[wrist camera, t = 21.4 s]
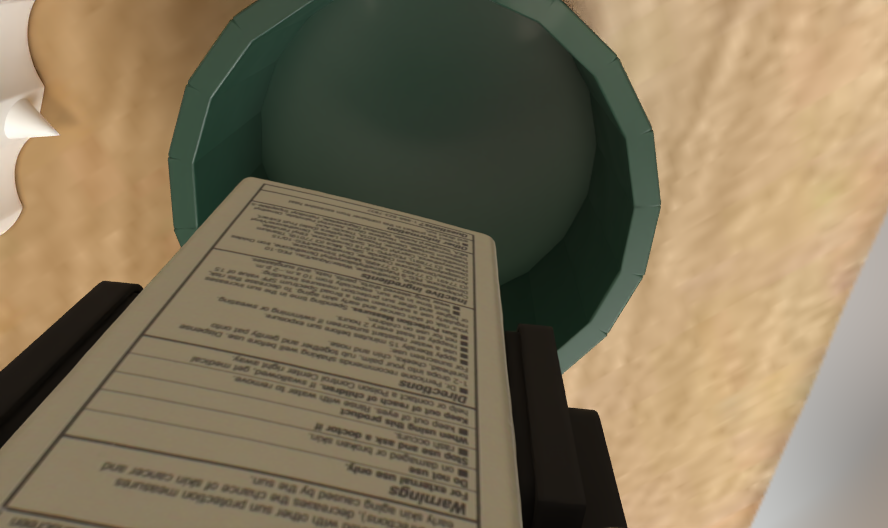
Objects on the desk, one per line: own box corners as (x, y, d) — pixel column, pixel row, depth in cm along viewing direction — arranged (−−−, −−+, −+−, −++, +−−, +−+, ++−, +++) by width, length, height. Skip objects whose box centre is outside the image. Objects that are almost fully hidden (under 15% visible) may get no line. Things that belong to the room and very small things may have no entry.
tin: (238, -71, 25) (146, -76, 18) (649, -31, 24) (715, -20, 18) (251, 293, 31) (186, 392, 24) (579, 325, 31) (607, 435, 24)
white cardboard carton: (216, 356, 15) (-211, 1021, 6) (245, 165, 13) (-316, 692, 4) (450, 416, 15) (403, 1131, 6) (511, 238, 13) (575, 879, 4)
